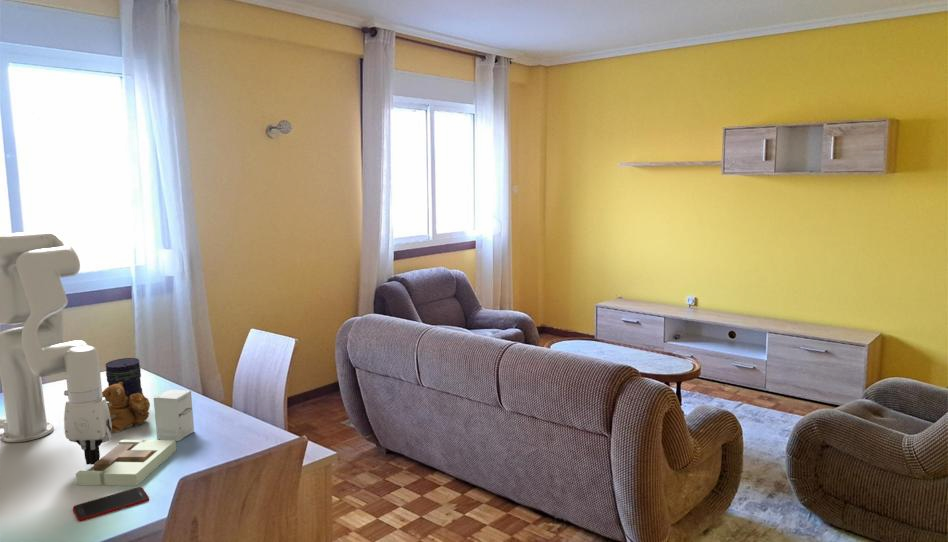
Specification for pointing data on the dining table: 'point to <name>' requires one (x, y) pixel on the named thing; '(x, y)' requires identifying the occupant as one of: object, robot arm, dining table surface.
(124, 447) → the tee
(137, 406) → the stuffed squirrel
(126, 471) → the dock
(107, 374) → the dark blue barrel
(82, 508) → the cell phone
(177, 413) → the supplement box
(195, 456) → the dining table surface
